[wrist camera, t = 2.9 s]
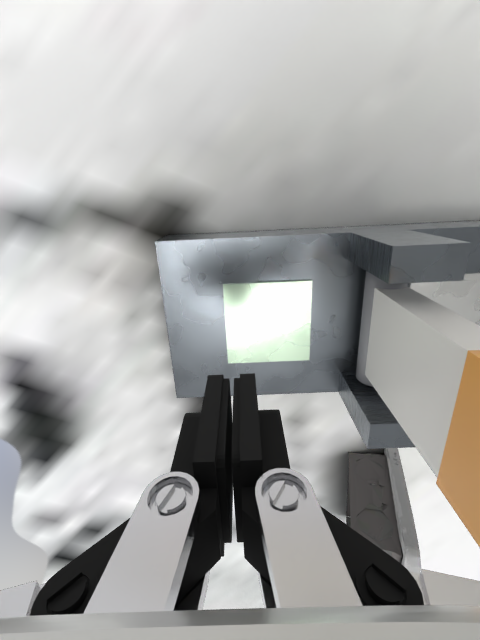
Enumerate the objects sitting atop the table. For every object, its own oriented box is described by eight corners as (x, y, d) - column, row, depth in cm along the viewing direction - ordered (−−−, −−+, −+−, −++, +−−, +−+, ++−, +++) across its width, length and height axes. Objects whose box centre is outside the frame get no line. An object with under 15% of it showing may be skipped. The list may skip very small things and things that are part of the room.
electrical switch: (387, 520, 29) (434, 655, 21) (329, 518, 30) (352, 649, 21) (395, 439, 26) (455, 560, 17) (330, 439, 27) (357, 557, 18)
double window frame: (490, 220, 20) (643, 234, 12) (457, 362, 23) (559, 441, 16) (166, 235, 20) (123, 258, 12) (184, 374, 24) (158, 456, 16)
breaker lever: (397, 267, 17) (661, 386, 6) (383, 368, 19) (562, 581, 9) (360, 269, 17) (560, 390, 6) (351, 369, 19) (488, 583, 9)
